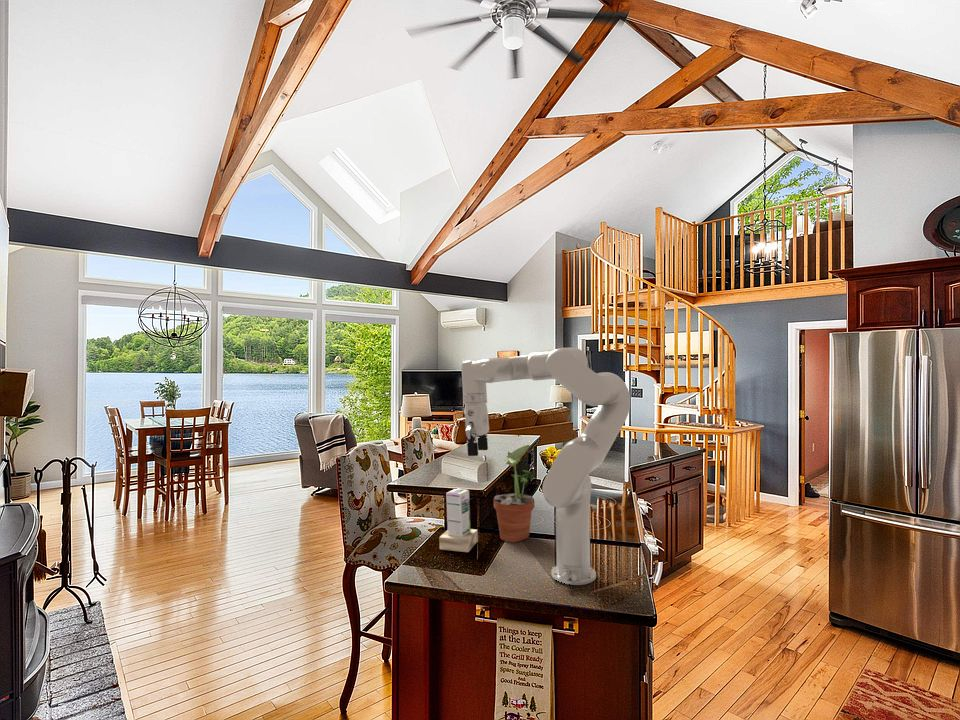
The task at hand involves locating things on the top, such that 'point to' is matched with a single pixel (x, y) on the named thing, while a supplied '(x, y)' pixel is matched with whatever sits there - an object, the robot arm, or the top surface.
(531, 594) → the top surface
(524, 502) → the potted plant
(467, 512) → the syrup box
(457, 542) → the birch block
